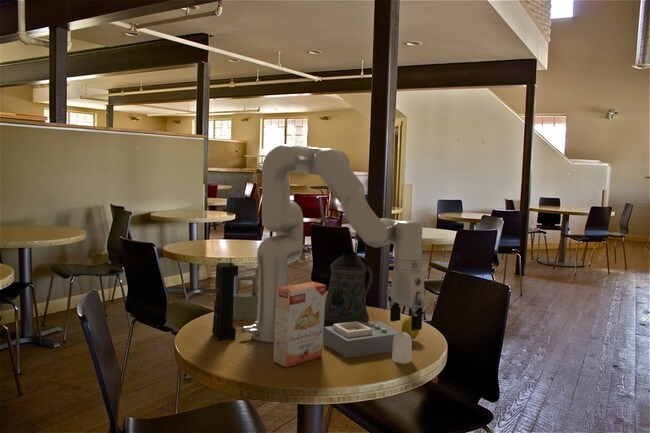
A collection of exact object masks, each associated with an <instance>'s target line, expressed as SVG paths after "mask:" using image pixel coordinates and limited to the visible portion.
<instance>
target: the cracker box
mask: <svg viewBox="0 0 650 433" xmlns="http://www.w3.org/2000/svg"><path fill="white" fill-rule="evenodd" d="M326 294H327V285H326V284H323V283H319V282H315V281H308V282H302V283H295V284H290V285H289V286H283V287H277V294H276V314H275V334H274V343H273V357H272V358H273V359H272V360H273V361H272V363H276V364H278V365H279V366H282V367H285V368H290V367H292V366H295V365H299V364H301V363H305V362H308V361H311V360H315V359H317V358H320V357H322V356H323V346H324V343H323V329H324V312H325V302H326V297H327V295H326Z"/></svg>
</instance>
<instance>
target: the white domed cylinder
mask: <svg viewBox="0 0 650 433" xmlns="http://www.w3.org/2000/svg"><path fill="white" fill-rule="evenodd" d="M412 340H413V339H411V337H410V336H409V335H408V334H407V333H405V332H402V331H401V332H400V333H397V334H396V335H395V336H394V339H393V349H392V351H391V361H393V362H395V363H398V364H409V363H411V360H412V348H413V347H412V344H413V341H412Z"/></svg>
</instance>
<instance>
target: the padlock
mask: <svg viewBox="0 0 650 433" xmlns="http://www.w3.org/2000/svg"><path fill="white" fill-rule="evenodd" d="M241 281H252V293H239V292H240V289H241V288H240V287H241ZM257 288H258V278H257V277H256V276H254V275H241V276H238V277H236V280H235V290H236V294H234V303H233V321H249V320H250V321H251V320H255V319H257V320H258V298H259V294H257V293H258V291H257V290H258V289H257Z"/></svg>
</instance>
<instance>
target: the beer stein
mask: <svg viewBox="0 0 650 433" xmlns="http://www.w3.org/2000/svg"><path fill="white" fill-rule="evenodd" d="M367 262H368V259H367V258H366V257H364V256H361V255H358V254H357V252H356V251H355V252H354V251H343V253H342V255H341V256H339V257H338V258H337V259H335V260H334V261H333V262H331V264H330V268H329V269H330V272H331V275H330V280H329V284H328V285H329V286H328V290H327V293H326V294H327V295H326V297H325V312H324V327H328V326H333V324H338V323H347V322H356V321H357V322H359V323H362V322H370V321H369V320H370V316H369V313H368V311H367V310H368V309H367V303H366V302H367V301H366V297H367V295H368V292H369V291H370V289H371V287H372V286H371V285H372V283H373V276H374V275H373V270H372V267H371V265H370V264H368V263H367Z"/></svg>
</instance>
